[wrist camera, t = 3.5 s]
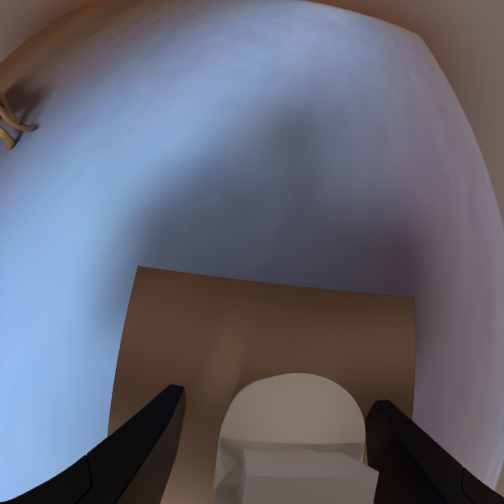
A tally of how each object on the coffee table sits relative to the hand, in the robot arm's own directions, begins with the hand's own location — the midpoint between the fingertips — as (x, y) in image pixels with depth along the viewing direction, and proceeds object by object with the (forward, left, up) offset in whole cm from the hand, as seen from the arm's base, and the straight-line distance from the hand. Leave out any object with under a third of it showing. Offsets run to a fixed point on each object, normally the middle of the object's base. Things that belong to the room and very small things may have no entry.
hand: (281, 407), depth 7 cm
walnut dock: (-1, +1, -7) cm, 7 cm away
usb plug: (-1, +1, -3) cm, 3 cm away
